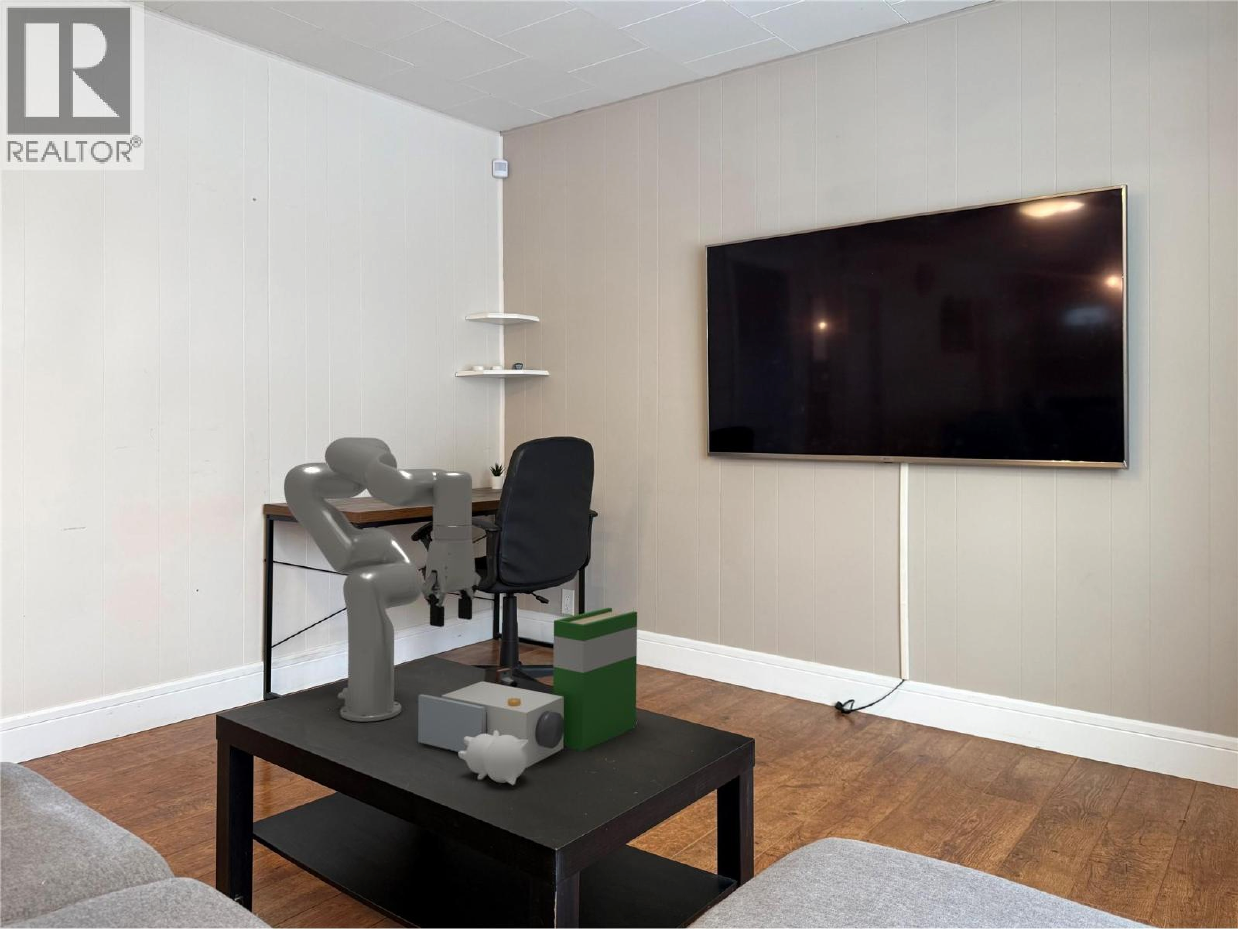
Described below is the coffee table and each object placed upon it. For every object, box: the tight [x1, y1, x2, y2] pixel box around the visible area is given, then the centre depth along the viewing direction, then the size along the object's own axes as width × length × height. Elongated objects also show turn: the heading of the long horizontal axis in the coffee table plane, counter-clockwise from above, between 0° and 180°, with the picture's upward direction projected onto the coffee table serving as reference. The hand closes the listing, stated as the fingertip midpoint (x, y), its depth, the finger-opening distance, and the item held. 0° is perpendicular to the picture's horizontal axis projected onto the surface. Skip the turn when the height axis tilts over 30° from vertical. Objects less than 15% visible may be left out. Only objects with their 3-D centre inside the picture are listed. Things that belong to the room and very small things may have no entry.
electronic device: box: [483, 667, 518, 688], centre depth 199 cm, size 4×10×8 cm, turn 44°
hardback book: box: [552, 607, 638, 752], centre depth 177 cm, size 18×7×24 cm, turn 144°
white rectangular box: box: [441, 680, 564, 769], centre depth 168 cm, size 22×12×11 cm, turn 60°
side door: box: [417, 693, 486, 753], centre depth 167 cm, size 16×3×9 cm, turn 60°
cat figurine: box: [457, 730, 529, 786], centre depth 155 cm, size 9×11×12 cm
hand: (451, 621), depth 175 cm, fingers open, 7 cm apart
